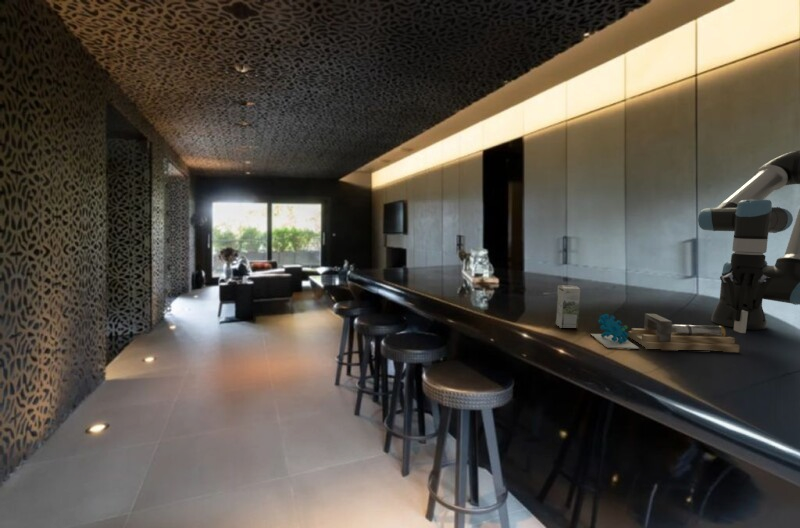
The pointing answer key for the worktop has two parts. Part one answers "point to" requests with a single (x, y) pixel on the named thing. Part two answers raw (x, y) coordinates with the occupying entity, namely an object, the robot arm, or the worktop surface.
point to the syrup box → (567, 306)
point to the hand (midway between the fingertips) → (739, 331)
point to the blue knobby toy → (613, 328)
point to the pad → (611, 344)
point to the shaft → (698, 330)
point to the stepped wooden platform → (677, 337)
